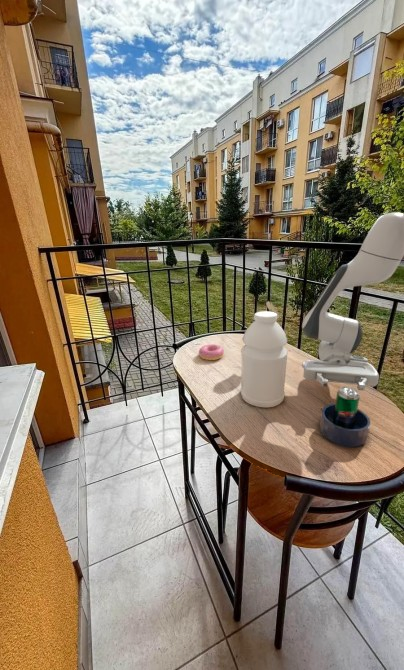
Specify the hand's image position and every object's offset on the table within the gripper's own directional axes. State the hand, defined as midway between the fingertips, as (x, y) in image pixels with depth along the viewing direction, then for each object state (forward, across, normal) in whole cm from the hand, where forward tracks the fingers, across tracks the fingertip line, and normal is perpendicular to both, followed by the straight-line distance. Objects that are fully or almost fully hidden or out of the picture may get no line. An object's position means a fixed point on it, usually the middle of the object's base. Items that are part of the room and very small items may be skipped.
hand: (342, 386), depth 78 cm
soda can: (+7, 0, +9) cm, 12 cm away
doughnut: (-32, -46, +10) cm, 57 cm away
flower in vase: (-30, -23, +10) cm, 39 cm away
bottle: (-5, -22, +10) cm, 25 cm away
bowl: (+8, 0, +10) cm, 12 cm away
